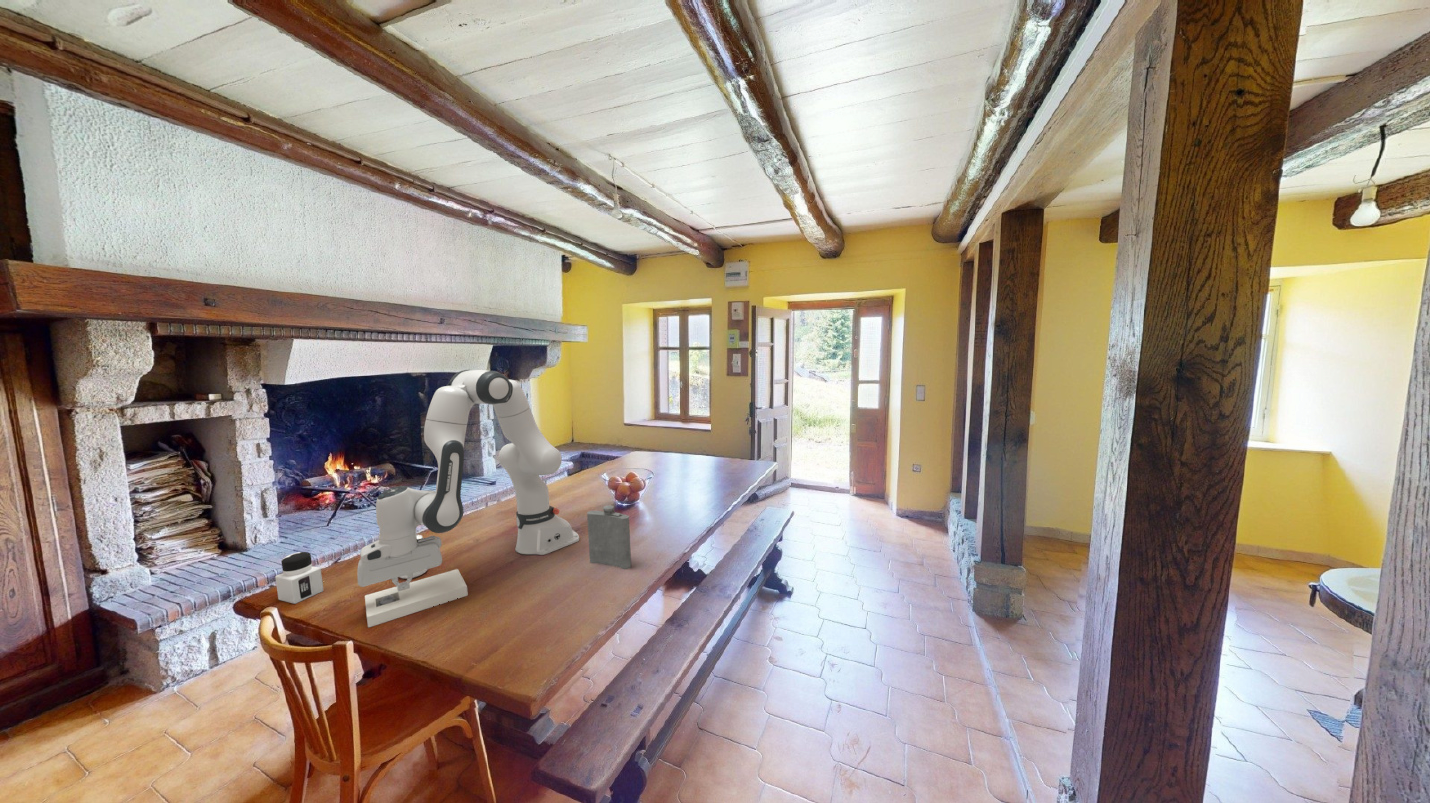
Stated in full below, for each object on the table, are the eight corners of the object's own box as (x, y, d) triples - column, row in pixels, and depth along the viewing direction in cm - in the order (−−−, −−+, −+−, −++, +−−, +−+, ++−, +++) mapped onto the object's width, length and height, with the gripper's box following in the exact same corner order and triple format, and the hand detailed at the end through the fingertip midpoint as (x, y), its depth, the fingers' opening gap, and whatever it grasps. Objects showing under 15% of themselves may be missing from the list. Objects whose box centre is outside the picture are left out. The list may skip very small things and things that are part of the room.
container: (324, 590, 141) (318, 551, 140) (294, 604, 134) (288, 562, 133) (308, 587, 144) (302, 547, 142) (278, 600, 137) (271, 559, 135)
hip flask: (587, 562, 157) (584, 506, 154) (595, 557, 161) (592, 502, 158) (627, 569, 151) (625, 511, 149) (634, 564, 155) (631, 507, 152)
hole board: (458, 577, 148) (457, 568, 148) (467, 595, 137) (466, 585, 137) (365, 605, 133) (364, 595, 133) (368, 627, 122) (366, 617, 122)
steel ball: (390, 608, 133) (398, 594, 134) (390, 614, 130) (399, 600, 130) (375, 604, 130) (384, 591, 131) (375, 611, 127) (384, 597, 128)
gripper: (438, 530, 140) (443, 573, 142) (354, 550, 127) (359, 597, 129) (442, 537, 135) (446, 581, 137) (354, 558, 122) (360, 606, 124)
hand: (403, 589), depth 133 cm, fingers closed
